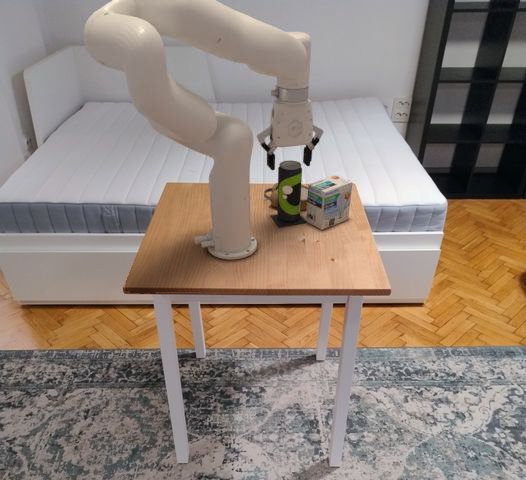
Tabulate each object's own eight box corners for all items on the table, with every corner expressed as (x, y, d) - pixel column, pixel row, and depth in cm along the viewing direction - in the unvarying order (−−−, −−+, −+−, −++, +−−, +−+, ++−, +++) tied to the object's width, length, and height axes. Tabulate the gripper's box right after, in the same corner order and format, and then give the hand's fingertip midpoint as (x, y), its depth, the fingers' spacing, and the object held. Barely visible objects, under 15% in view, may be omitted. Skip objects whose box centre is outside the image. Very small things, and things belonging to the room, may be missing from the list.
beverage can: (287, 211, 142) (288, 158, 132) (304, 217, 139) (307, 164, 129) (272, 218, 139) (273, 164, 129) (289, 225, 136) (291, 170, 126)
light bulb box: (321, 230, 134) (325, 192, 127) (304, 221, 138) (307, 184, 131) (349, 219, 139) (353, 181, 132) (332, 210, 143) (335, 173, 136)
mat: (279, 227, 135) (279, 226, 135) (270, 216, 140) (270, 215, 140) (306, 223, 137) (306, 222, 137) (297, 212, 142) (297, 211, 142)
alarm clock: (315, 202, 140) (263, 191, 140) (311, 218, 143) (260, 207, 143) (316, 186, 149) (267, 175, 148) (312, 201, 152) (264, 191, 151)
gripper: (262, 100, 113) (261, 175, 124) (332, 95, 117) (325, 168, 128) (252, 92, 118) (252, 165, 129) (319, 87, 123) (314, 158, 134)
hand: (289, 166), depth 129 cm, fingers open, 9 cm apart
